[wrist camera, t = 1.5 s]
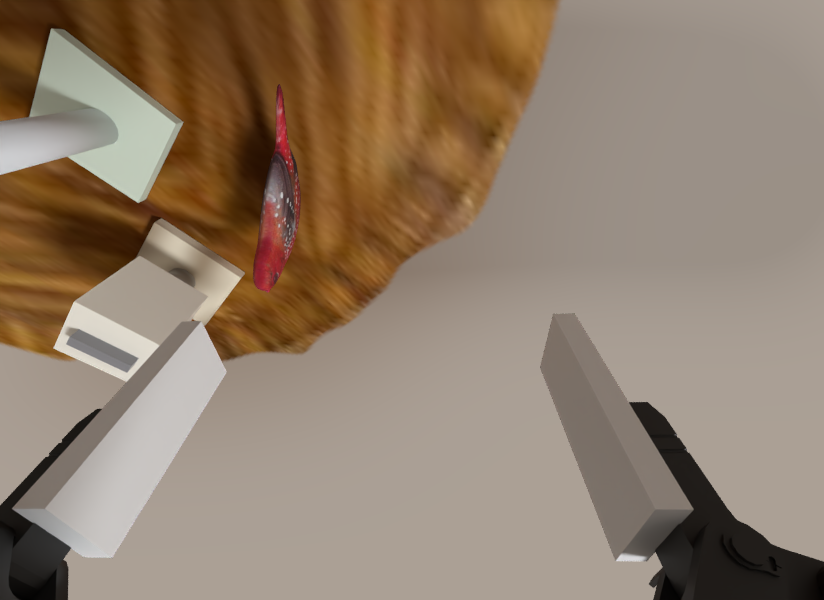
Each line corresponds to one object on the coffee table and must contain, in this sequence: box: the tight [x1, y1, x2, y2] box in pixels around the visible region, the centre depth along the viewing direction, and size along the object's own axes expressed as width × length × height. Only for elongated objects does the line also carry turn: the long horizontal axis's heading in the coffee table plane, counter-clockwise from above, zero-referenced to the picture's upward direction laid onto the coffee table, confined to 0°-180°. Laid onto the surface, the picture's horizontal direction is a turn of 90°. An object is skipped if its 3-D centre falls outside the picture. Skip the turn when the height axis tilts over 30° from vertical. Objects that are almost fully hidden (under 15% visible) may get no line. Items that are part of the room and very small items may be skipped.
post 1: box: [0, 28, 183, 203], centre depth 27 cm, size 10×10×12 cm
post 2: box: [136, 218, 245, 326], centre depth 37 cm, size 10×10×12 cm
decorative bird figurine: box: [253, 84, 301, 292], centre depth 31 cm, size 3×18×10 cm, turn 166°
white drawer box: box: [54, 256, 208, 382], centre depth 34 cm, size 7×7×9 cm
